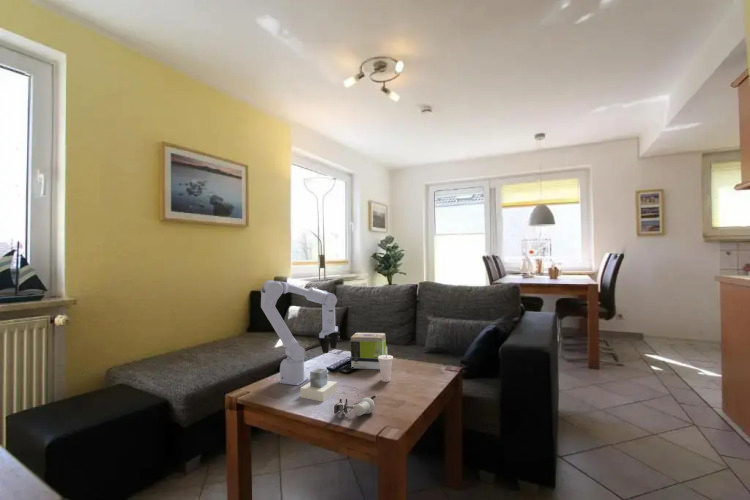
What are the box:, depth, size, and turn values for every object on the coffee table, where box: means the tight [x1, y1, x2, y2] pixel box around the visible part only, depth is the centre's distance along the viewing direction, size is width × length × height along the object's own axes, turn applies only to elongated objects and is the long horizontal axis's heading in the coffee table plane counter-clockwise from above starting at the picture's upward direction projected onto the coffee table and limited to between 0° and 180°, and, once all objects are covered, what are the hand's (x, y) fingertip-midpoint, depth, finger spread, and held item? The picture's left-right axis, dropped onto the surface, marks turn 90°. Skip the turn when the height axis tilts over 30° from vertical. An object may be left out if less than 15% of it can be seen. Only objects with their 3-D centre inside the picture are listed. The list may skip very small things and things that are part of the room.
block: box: [309, 367, 328, 388], centre depth 133 cm, size 5×5×6 cm
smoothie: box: [378, 345, 394, 383], centre depth 146 cm, size 6×6×14 cm
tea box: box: [350, 332, 387, 370], centre depth 165 cm, size 15×10×15 cm
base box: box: [300, 380, 338, 402], centre depth 133 cm, size 10×10×4 cm
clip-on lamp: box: [333, 390, 379, 418], centre depth 119 cm, size 12×6×18 cm
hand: (329, 350), depth 155 cm, fingers open, 7 cm apart
